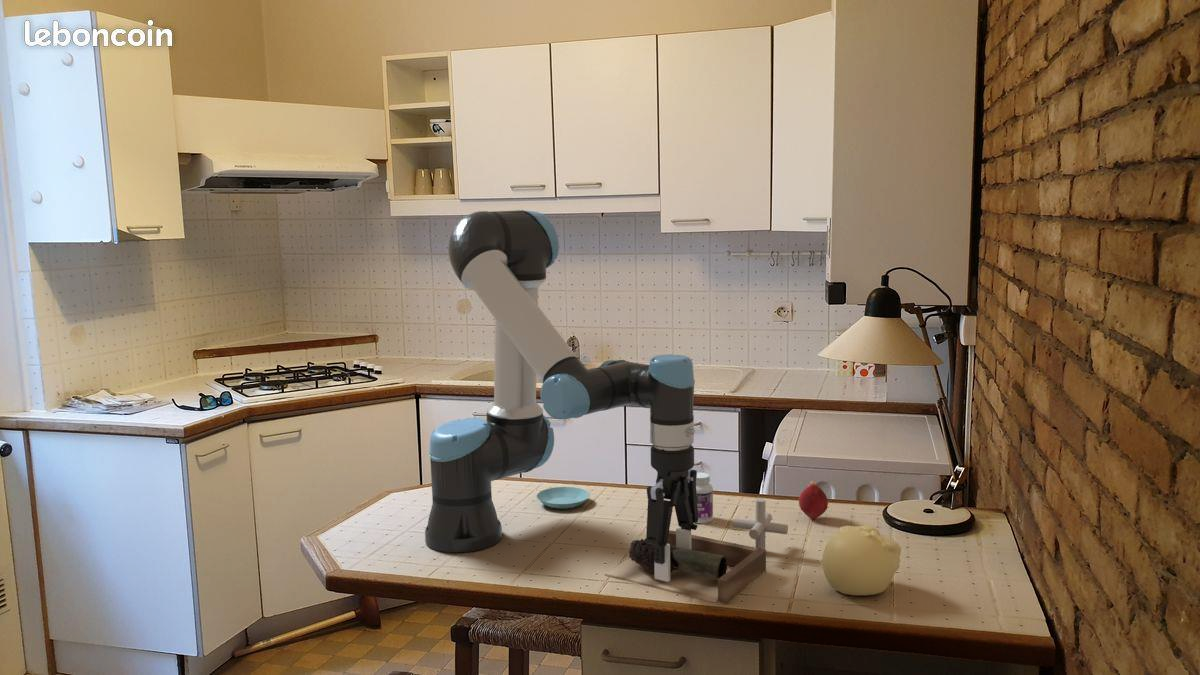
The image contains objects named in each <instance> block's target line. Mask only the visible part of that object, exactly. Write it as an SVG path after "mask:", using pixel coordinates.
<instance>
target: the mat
mask: <svg viewBox="0 0 1200 675" xmlns="http://www.w3.org/2000/svg"><path fill="white" fill-rule="evenodd" d="M603 575H604V576H606V577H610V578H614V579H619V580H622V581H626V582H631V583H634V584H639V585H642V586H647V587H651V588H654V589H659V590H662V591H666V592H672V593H675V594H679V595H683V596H687V597H691V598H695V599H700V600H703V601H707V602H712V603H716V604H717V603H718V580H716V579H711V578H707V577H703V576H699V575H694V574H690V573H686V572H682V571H678V570H674V571H672V572H670V581H669V582H666V581H662V580H658V579H655V575H654V574H648V573H646V572H645V571H644V568H642V567H641V566H640V565H639V564H637V563H635V561H632V560H631V558H630V557H629V558H628V559H626V560H624V561H622V562H621V563H619V564H618V565H616V566H614V567H613V568H611V569H610V570H608V571H607V572H605V573H604V574H603Z"/></svg>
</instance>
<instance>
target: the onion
mask: <svg viewBox="0 0 1200 675" xmlns="http://www.w3.org/2000/svg"><path fill="white" fill-rule="evenodd" d="M809 482H810V484H809V486H808V487H806V488H804V489H803V490H802V491H801V493H800V495H799V499H798V504H799V505H798V507H799V508H800V510H801V511H802V512H803V513H804V514H805V515H806V516H807V517H808V518H809V519H810V520H815V519H817V518H819V517H820V516H822V515H823V514H825V512H826V511H827V509H828V505H829V501H828V497H827V495H826V493H825V492H824V491H823V489H822V488H821V487H819V486H818V485H817V484H815V482H814V481H809Z"/></svg>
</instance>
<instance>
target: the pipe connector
mask: <svg viewBox="0 0 1200 675" xmlns="http://www.w3.org/2000/svg"><path fill="white" fill-rule="evenodd" d="M772 519H773V516H772V514H771V513H769V512H766V499H764V498H756V499H755V519H746V518H739V517H734V518H733V522H732V523H733V528H735V529H743V530H749V532H748V535H749V537H750V538H751V539H753V540H755V548H759V549H764V550H766V533H773V534H780V535H788V531H789V525H788V524H787V523H786V524H785V523H777V522H771V521H772Z"/></svg>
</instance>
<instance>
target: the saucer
mask: <svg viewBox="0 0 1200 675" xmlns="http://www.w3.org/2000/svg"><path fill="white" fill-rule="evenodd" d="M590 496H591V494H590V492H589V491H587V490H586V489H583V488H581V487H580V488H579V487H573V486H559V487H557V486H556V487H550V488H546V489H543V490H541V491H539V492H538V493H537V494H536V496H535V497H536V499H537V500H538V501H540V502H541V503H542V504H543V505H545V506H546V507H549V508H551V509H554V508H556V510H569V509H568V508H570V509H573V508H576V507H578V506H580V505H582V504H584V503H585V502H586V501H587V500H588V499H589V498H590Z"/></svg>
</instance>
